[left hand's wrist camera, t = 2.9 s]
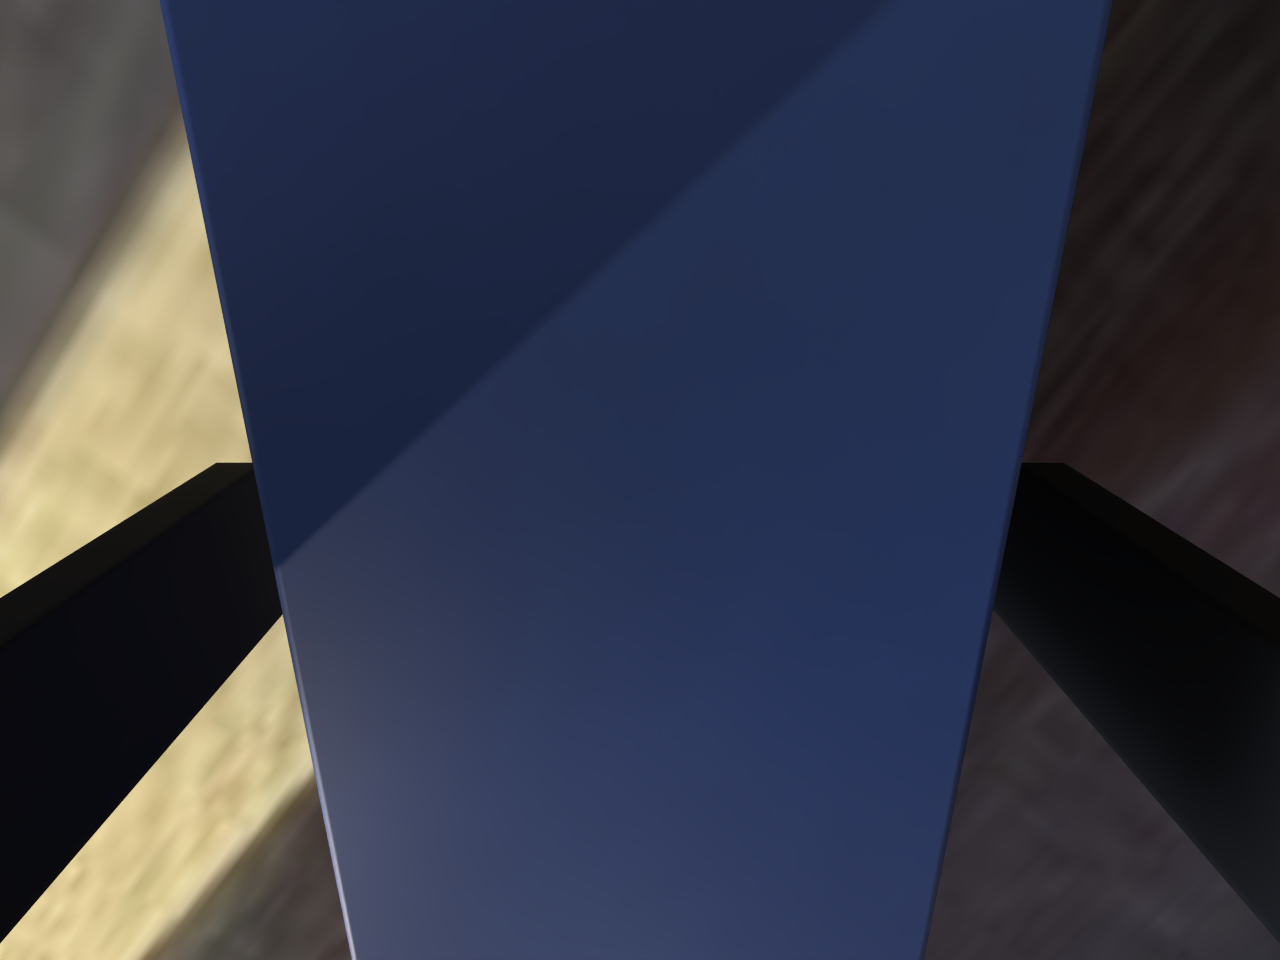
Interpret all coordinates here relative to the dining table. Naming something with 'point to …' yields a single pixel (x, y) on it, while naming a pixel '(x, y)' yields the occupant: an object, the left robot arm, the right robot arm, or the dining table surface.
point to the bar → (637, 439)
